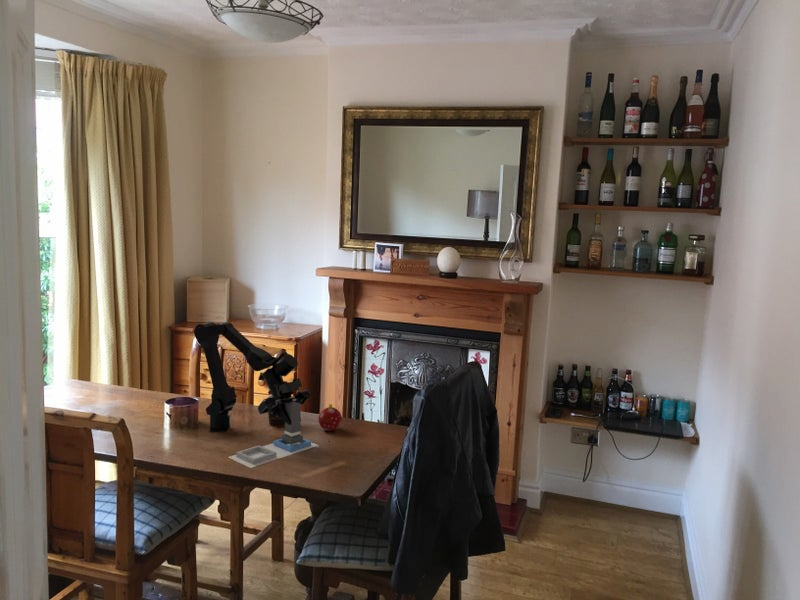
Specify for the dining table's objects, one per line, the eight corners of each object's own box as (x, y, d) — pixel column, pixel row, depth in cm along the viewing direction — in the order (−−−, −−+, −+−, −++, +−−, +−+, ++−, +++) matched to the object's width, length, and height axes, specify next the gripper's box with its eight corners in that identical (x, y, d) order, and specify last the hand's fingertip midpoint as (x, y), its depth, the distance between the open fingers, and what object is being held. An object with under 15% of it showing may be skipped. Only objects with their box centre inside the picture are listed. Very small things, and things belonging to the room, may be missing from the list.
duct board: (250, 470, 192) (250, 463, 192) (227, 460, 200) (227, 452, 200) (318, 448, 214) (318, 440, 213) (295, 439, 221) (295, 432, 221)
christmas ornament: (313, 430, 230) (314, 404, 229) (327, 424, 238) (328, 399, 237) (332, 435, 226) (332, 409, 225) (346, 429, 233) (346, 403, 232)
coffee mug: (262, 426, 233) (262, 400, 232) (271, 419, 242) (271, 394, 240) (292, 429, 231) (292, 403, 230) (300, 422, 240) (300, 396, 238)
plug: (281, 440, 212) (282, 403, 210) (293, 437, 216) (294, 400, 214) (290, 444, 209) (291, 406, 207) (302, 441, 212) (303, 403, 211)
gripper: (263, 375, 205) (283, 416, 199) (308, 367, 219) (328, 405, 213) (249, 393, 211) (268, 433, 205) (293, 384, 225) (312, 421, 219)
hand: (295, 423), depth 210 cm, fingers closed on plug, 4 cm apart
